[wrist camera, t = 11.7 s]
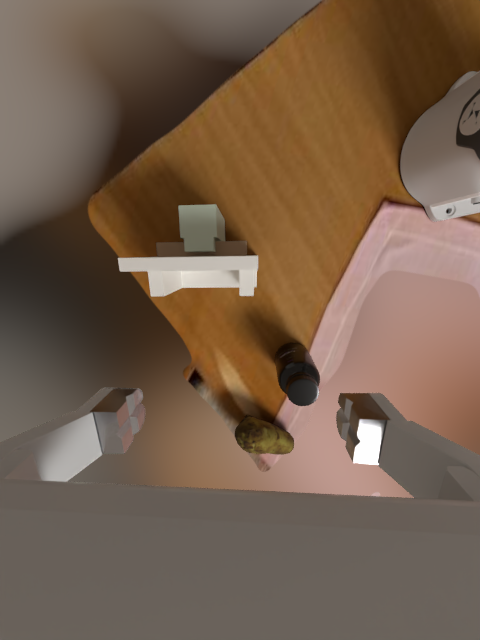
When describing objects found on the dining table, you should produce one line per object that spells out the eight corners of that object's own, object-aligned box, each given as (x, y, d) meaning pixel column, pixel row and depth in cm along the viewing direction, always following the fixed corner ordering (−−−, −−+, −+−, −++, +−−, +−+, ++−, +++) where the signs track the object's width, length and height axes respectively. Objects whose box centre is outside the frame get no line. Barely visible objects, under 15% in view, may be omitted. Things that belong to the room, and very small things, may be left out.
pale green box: (224, 214, 38) (215, 197, 30) (225, 255, 40) (217, 250, 31) (195, 215, 39) (177, 198, 30) (197, 256, 40) (181, 251, 31)
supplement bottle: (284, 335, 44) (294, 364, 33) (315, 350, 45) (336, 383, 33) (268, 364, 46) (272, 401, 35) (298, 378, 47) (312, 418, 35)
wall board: (256, 243, 40) (258, 236, 25) (256, 286, 42) (257, 304, 27) (167, 244, 41) (114, 239, 26) (171, 286, 43) (125, 305, 28)
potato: (266, 452, 52) (269, 486, 45) (230, 414, 50) (226, 443, 43) (296, 434, 51) (304, 467, 43) (260, 394, 48) (261, 421, 41)
